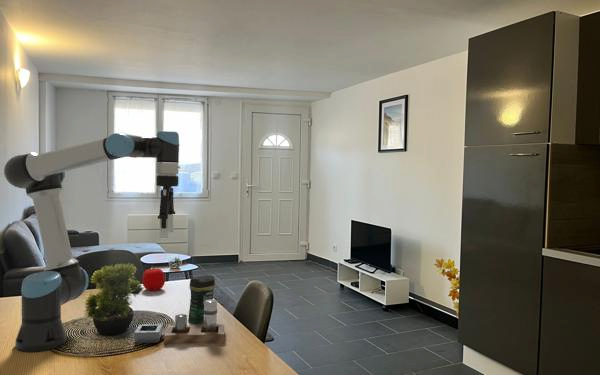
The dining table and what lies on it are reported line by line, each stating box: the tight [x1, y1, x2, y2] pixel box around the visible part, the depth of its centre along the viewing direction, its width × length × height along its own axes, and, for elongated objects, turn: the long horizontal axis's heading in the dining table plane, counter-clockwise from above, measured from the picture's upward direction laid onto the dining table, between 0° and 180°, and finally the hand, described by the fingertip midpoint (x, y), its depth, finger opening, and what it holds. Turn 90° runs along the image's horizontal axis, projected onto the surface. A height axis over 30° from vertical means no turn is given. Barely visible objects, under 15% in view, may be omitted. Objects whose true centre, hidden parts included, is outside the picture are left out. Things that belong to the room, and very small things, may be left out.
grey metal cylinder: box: [203, 299, 218, 332], centre depth 167 cm, size 5×5×13 cm
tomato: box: [141, 267, 166, 291], centre depth 231 cm, size 10×11×11 cm
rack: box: [163, 323, 225, 345], centre depth 166 cm, size 20×10×4 cm, turn 98°
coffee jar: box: [187, 274, 216, 325], centre depth 185 cm, size 10×8×19 cm
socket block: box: [133, 323, 163, 344], centre depth 165 cm, size 8×8×4 cm
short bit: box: [174, 313, 188, 333], centre depth 165 cm, size 4×4×8 cm
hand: (166, 234), depth 168 cm, fingers open, 13 cm apart
